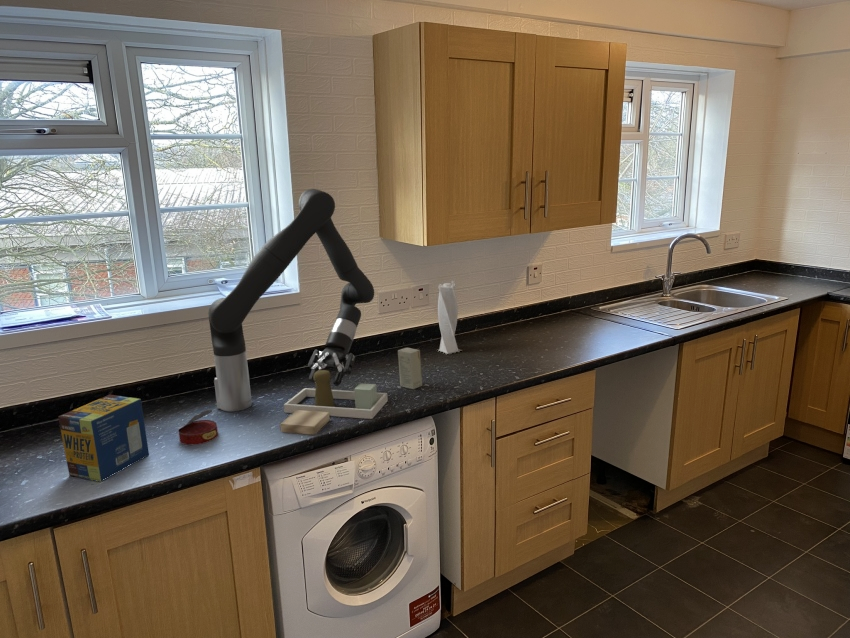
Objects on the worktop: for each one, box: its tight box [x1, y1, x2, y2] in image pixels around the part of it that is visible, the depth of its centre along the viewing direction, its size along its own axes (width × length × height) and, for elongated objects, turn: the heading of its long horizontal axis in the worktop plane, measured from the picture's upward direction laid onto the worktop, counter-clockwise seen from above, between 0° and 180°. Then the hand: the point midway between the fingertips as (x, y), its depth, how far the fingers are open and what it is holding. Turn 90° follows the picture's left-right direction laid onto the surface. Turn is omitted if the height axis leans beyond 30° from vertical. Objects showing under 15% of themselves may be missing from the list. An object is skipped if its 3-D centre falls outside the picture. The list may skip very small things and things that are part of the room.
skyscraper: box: [437, 279, 463, 355], centre depth 234 cm, size 8×8×28 cm
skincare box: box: [397, 347, 423, 390], centre depth 200 cm, size 6×4×12 cm
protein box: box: [57, 394, 150, 482], centre depth 152 cm, size 10×15×16 cm
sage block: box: [353, 382, 378, 410], centre depth 183 cm, size 5×5×7 cm
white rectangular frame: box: [283, 387, 388, 420], centre depth 186 cm, size 27×14×2 cm, turn 75°
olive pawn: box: [313, 369, 336, 407], centre depth 186 cm, size 6×6×11 cm
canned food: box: [177, 409, 219, 446], centre depth 168 cm, size 11×10×10 cm
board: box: [279, 410, 331, 436], centre depth 173 cm, size 10×10×2 cm
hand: (323, 383), depth 186 cm, fingers open, 8 cm apart
